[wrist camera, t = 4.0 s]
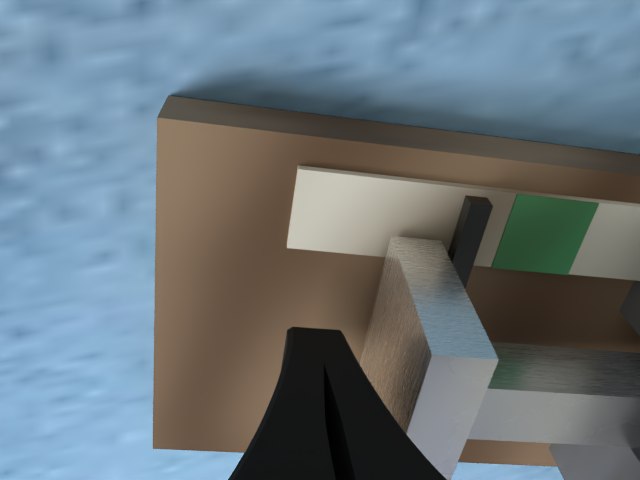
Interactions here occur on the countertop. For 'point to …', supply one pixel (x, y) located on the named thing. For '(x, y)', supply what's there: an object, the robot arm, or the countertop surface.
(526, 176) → the brown piece
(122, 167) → the countertop surface
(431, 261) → the gauge plunger
